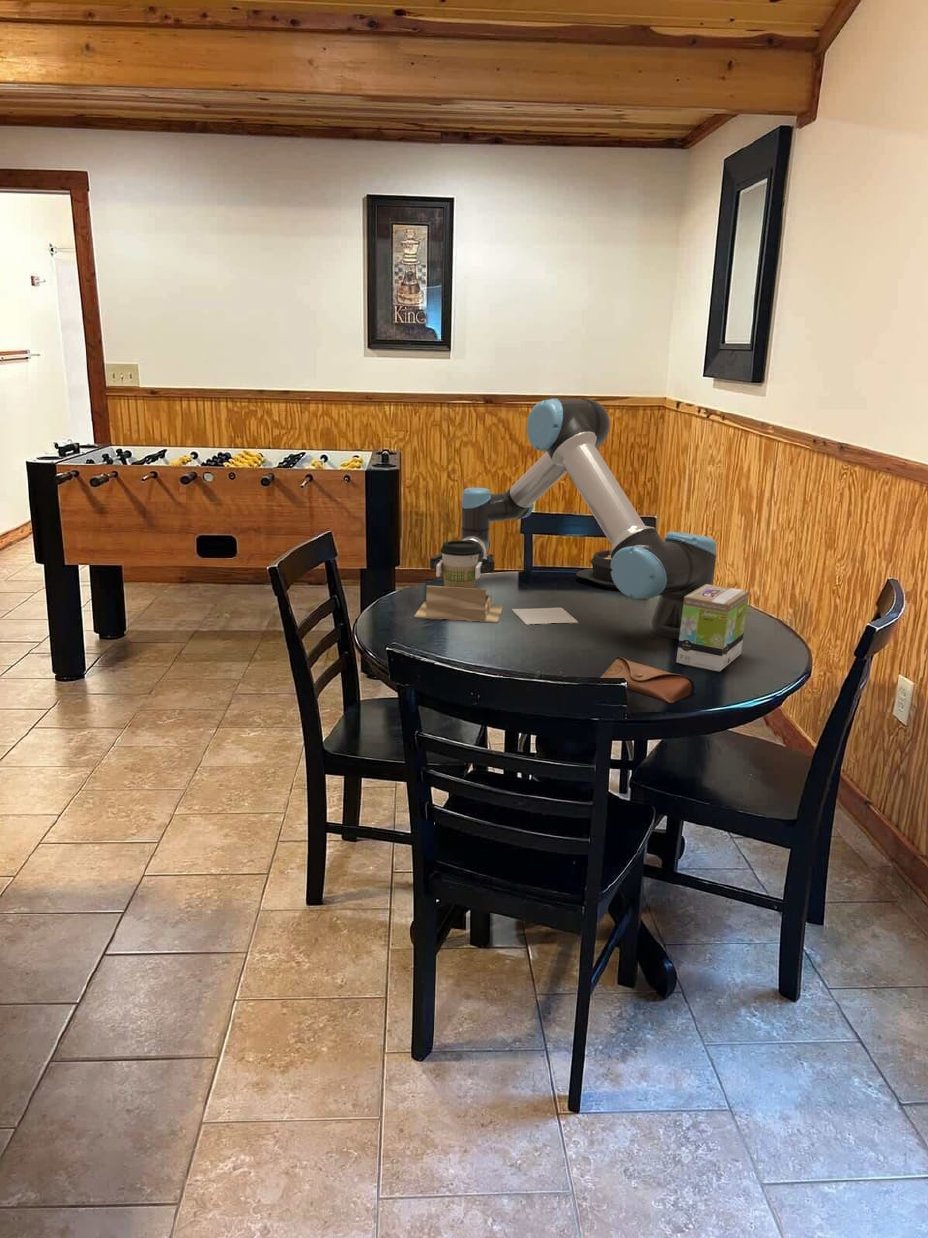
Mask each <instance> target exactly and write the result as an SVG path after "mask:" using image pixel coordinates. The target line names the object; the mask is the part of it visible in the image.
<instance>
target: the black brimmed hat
mask: <svg viewBox="0 0 928 1238" xmlns="http://www.w3.org/2000/svg"><path fill="white" fill-rule="evenodd" d="M610 552H611V549H610V550H601V551H597V552H595V553H594V554H593V555H592V556H593V557H592V558H591V559H590V561H589V562H590V564H591V565H592V568H586V569H581V570H579V571H578V572H576V573H575V575H576V577H578V578H581V579H585V580H588V581H591V582H594V583H597V584H598V585H601V586H604V587H607V588H611V589H618V588H617V587H616V585H615V583H614V582H613V579H612V576H611V572H612V568H611V561H612V558H611V556H610Z"/></svg>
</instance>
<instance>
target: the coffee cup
mask: <svg viewBox="0 0 928 1238" xmlns="http://www.w3.org/2000/svg"><path fill="white" fill-rule="evenodd" d="M439 552H440V553H442V558H443V563H442V565H443V573H442V574H443V584H444V587H459V588H475V589H476V581H477V579H475V571H476V566H477V564H478V556H479V554H480V553H481V551H480V548H479V546H478V543H475V542H471V541H461V540H449V541H444V542H443V543H442V546H441V548H440V551H439Z"/></svg>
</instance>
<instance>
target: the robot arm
mask: <svg viewBox="0 0 928 1238" xmlns="http://www.w3.org/2000/svg"><path fill="white" fill-rule="evenodd" d="M610 429H611V421H610V415H609V413H608V411H607V410H606V408H605V407H604V406H603V405H602V404H601V403H599V402H597V401H596V400H593V399H590V398H560V399H559V398H551V399H544V400H541V401H539V402H537V403H536V404H535V405H534V406H533V407H532V409H531V411H530V412H529V415H528V418H527V426H526V433H527V434H526V435H527V439H528V442H529V444H530V445H531V446H532V448H534V449H535V450H536V451H540V452H545V453H543V454H542V455H541V457H539V458H538V460H536V462H534V464H532V466H531V467H530V468H528V470H527V471H525V473H523V475H521V477H520V478H518V480H517V481H516V482H515V483H514V484H513V485H512V486H511V487H509V488H508V489H507V490H506V491H505V492H500V493H491V491H490V489H489V488H486V487H467V488H465V489H464V490H463V491H462V496H461V535H460V541H471V542H475V543H478V546H479V548H480V551H481V553H480V554H479V556H478V564H477V566H476V571H475V579H476V580H479V578H480V576H481V575H482V574H486V573H487V571H488V572H489V573H494V572H495V565H496V564H495V563H496V562H495V560H494V554H492V553H490V554H488V553H489V550H490V548H491V539H490V525H491V524H490V523H494V522H503V521H512V520H515V521H516V520H518V521H519V520H521V519H524V518H527V517H530V515H531V514H532V511H533V509H534V503H535V502H536V501H538V500H539V499H540V498H541V497H542V496H543V495H544V494H545V493H547V491H548V490H549V489H550V488H551V487H553V485H555V484H556V483H557V482H558V481H559V480H560V479H561V478H563V476H565V475H566V474H568V476H569V478H570V479H571V481H572V483H573V484H574V486H575V488H576V489H577V491H578V493H579V494H580V495H581V498H582V499H583V501H584V502H585V504H586V505H587V507H588V509H589V510H590V512H591V513H592V516H593V517H594V518H595V520H596V522H597V524H598V526H599V527H600V528H601V530H602V532H603V533H604V535H605V537H606V538H607V540H608V542H609V543H610V545H611V548H610V550H611V552H610V556H611V558H612V561H611V568H612V572H611V576H612V579H613V582H614V583H615V585H616V587H617V588H616V589H618V591H620V593H622V594H623V595H625V596H627V597H628V598H631V599H634V600H635V599H639V600H640V599H653V598H655V597H659V599H658V601H657V604H656V606H655V608H654V610H653V613H652V615H651V617H650V622H649V630H650V631H651V632H652V633H653V634H655V635H658V636H661V637H663V638H669V639H673V640H679V636H680V627H681V620H682V612H683V603H684V597H685V596H686V595H688V594H690V593H692V592H693V591H695V590H697V589H698V588H700V587H702V586H704V585H705V584H709V585H714V578H715V568H716V561H717V560H716V559H717V556H718V555H717V542H716V540H715V539H714V538H712V537H708V536H704V535H699V534H693V533H687V532H679V531H668V532H666V534H665V537H664V539H662V537H661V535H660V534H659V532H658V531H657V530H656V528H655V527H654V526H647V525H646V524H645V523H644V522H643V520H642V518H641V517H640V515H639V514H638V512H637V511H636V509H635V507H634V506H633V503H632V502H631V501H630V499H629V498H628V496H627V495H626V493H625V491H624V490H623V488H622V487H621V485H620V483H619V482H618V481H617V479H616V478H615V475H614V474H613V472H612V471H611V469H610V468H609V466H608V464H607V463H606V461H605V460H604V458H603V456H602V455H601V453H600V451H599V448H601V446H602V445H603V444H604V443H605V442H606V440H607V437H608V436H609V433H610ZM487 554H488V555H487ZM442 563H443V558H442V553H441V552H440V553H439V554H437V555H435V556H433V557H431V558H430V559H429V569H430V570H434V571H435V572H436V573H435V574H436V575H435V576H436V577H438V578H439V577H441V576H442V574H443V565H442Z"/></svg>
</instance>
